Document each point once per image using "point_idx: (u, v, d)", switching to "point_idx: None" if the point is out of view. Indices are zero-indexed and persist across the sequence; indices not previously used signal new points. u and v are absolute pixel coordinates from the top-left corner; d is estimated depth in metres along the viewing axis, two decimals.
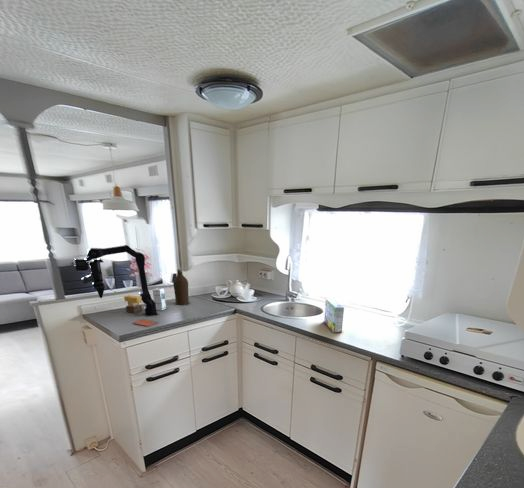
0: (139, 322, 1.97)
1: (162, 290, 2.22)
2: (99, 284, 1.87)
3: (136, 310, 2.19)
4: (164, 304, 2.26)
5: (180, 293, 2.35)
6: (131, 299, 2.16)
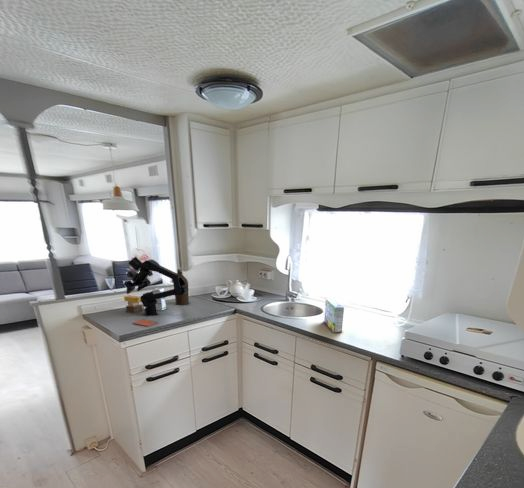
0: (139, 322, 1.97)
1: (162, 290, 2.22)
2: (127, 286, 2.02)
3: (136, 310, 2.19)
4: (164, 304, 2.26)
5: None
6: (131, 299, 2.16)
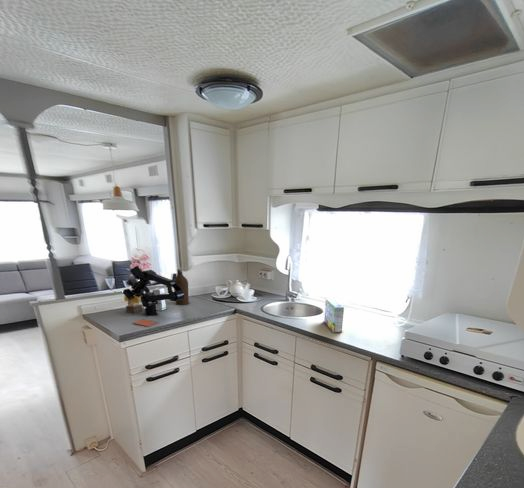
0: (139, 322, 1.97)
1: (162, 290, 2.22)
2: (126, 294, 2.07)
3: (136, 310, 2.19)
4: (164, 304, 2.26)
5: None
6: (131, 299, 2.16)
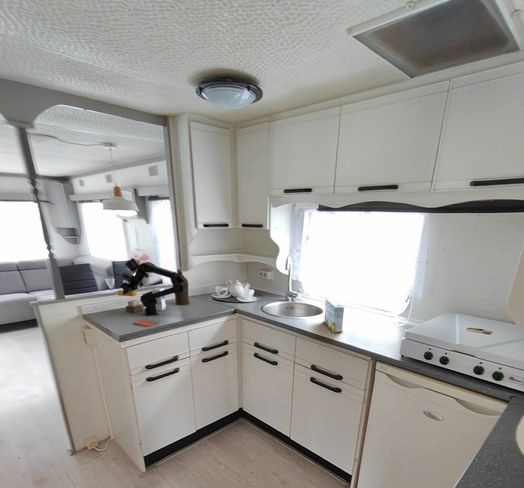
0: (139, 322, 1.97)
1: None
2: (124, 287, 2.02)
3: (136, 310, 2.19)
4: (164, 304, 2.26)
5: (180, 293, 2.35)
6: None
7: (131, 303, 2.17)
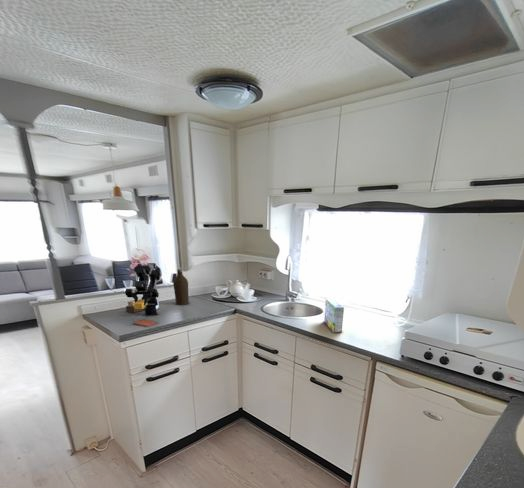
0: (139, 322, 1.97)
1: None
2: (157, 292, 1.96)
3: (136, 310, 2.19)
4: None
5: (180, 293, 2.35)
6: None
7: (131, 303, 2.17)
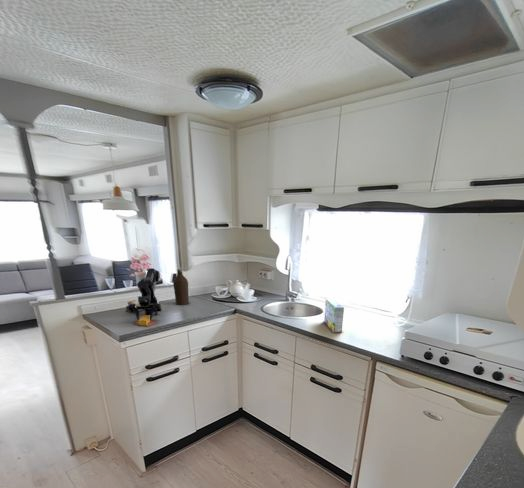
0: None
1: None
2: (160, 307, 2.00)
3: None
4: None
5: (180, 293, 2.35)
6: (148, 319, 1.98)
7: (131, 303, 2.17)
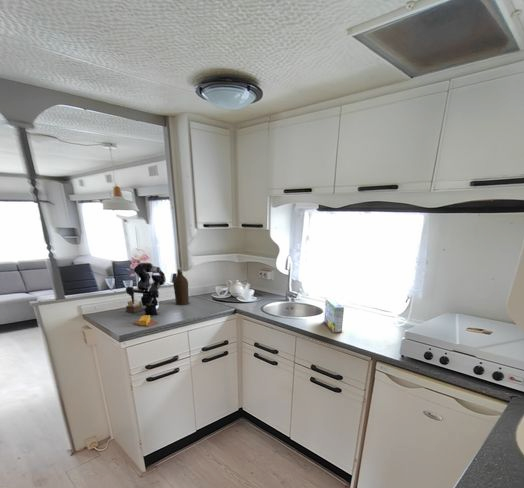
0: None
1: (139, 299, 2.28)
2: (158, 293, 2.02)
3: (136, 310, 2.19)
4: None
5: (180, 293, 2.35)
6: (148, 319, 1.98)
7: (131, 303, 2.17)
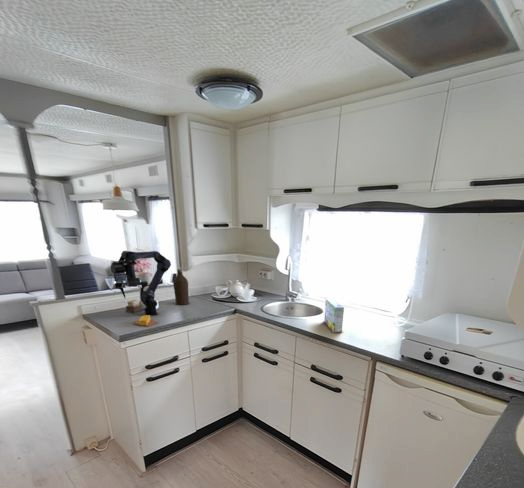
0: None
1: (139, 299, 2.28)
2: None
3: (136, 310, 2.19)
4: None
5: (180, 293, 2.35)
6: (148, 319, 1.98)
7: (131, 303, 2.17)
